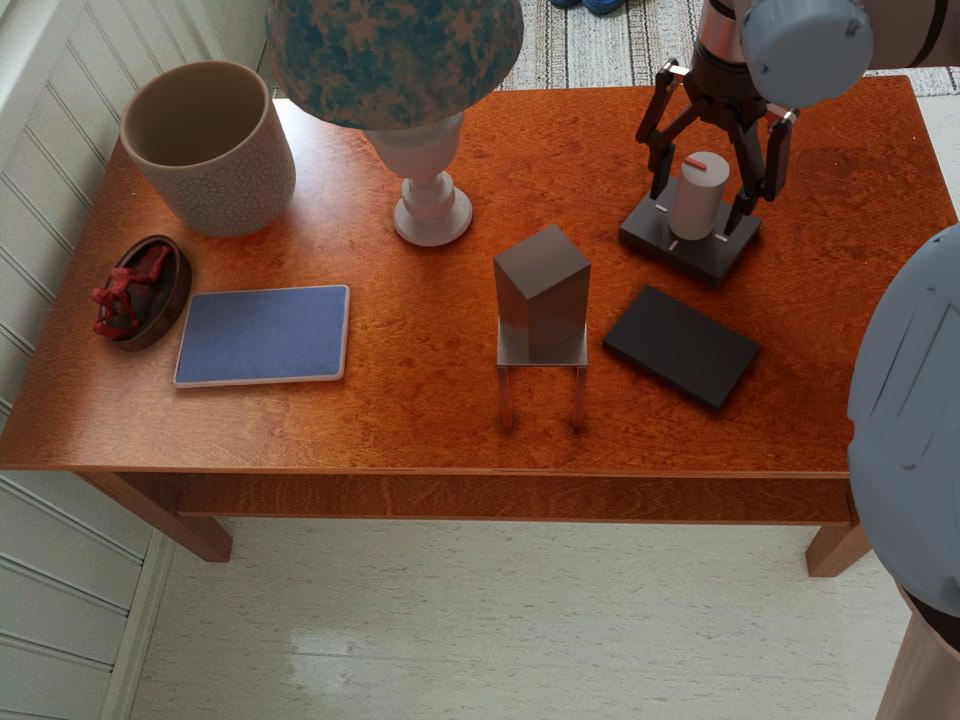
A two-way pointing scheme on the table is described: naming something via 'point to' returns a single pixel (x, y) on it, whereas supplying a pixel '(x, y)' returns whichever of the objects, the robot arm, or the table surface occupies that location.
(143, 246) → the figurine
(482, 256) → the table surface
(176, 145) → the planter
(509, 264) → the block
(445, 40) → the table lamp
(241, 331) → the tablet
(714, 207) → the oven dial
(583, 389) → the square metal stool
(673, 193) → the panel
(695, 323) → the mat
